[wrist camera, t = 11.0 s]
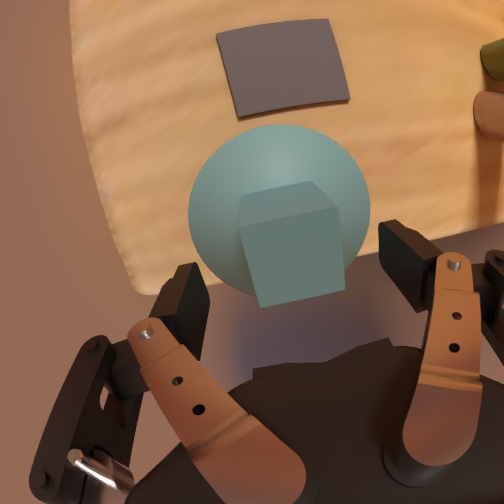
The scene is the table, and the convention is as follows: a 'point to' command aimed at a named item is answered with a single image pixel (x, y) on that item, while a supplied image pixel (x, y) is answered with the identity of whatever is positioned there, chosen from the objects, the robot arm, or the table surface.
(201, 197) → the lid
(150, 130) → the table surface
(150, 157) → the table surface
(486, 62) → the plant pot
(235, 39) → the mat
